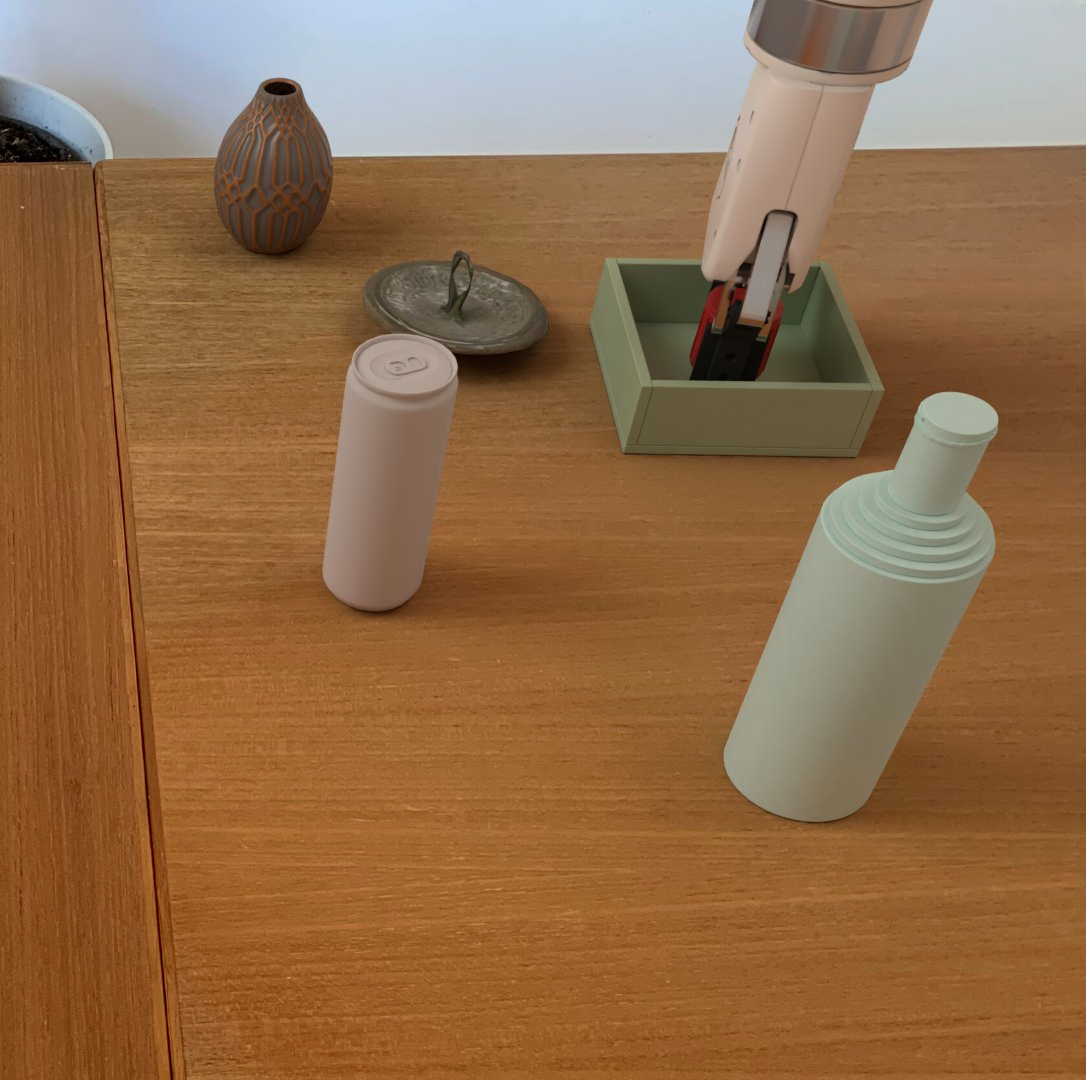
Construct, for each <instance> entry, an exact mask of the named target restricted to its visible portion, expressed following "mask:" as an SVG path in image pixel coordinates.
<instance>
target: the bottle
mask: <svg viewBox="0 0 1086 1080" xmlns="http://www.w3.org/2000/svg"><path fill="white" fill-rule="evenodd" d="M913 418H914V420H913V426H912V428H911V431H910V432H909V435H908V437H907V439H906V441H905V444H904V447H903V449H902V450H901V453H900V456H899V458H898V460H897V462H896V464H895V467H894V469H890V470H883V471H878V472H871V473H866V474H862V475H859V476H856V477H854V478H851V479H849V480H847V481H846V482H844V483H843V484H842V485H840V486H839V487H838V488H836V489H835V490H833V491H832V492H831V493H830V494H829V495H828V496H827V497H826V499H824V501H823V503H822V506H821V508H820V511H819V513H818V516H817V518H816V521H815V523H814V526H813V528H812V530H811V533H810V534H809V535H810V536H809V538H808V540H807V543H806V546H805V548H804V550H803V553H802V555H801V557H800V560H799V563H798V565H797V567H796V570H795V571H794V574H793V577H792V579H791V583H790V584H789V587H788V589H787V592H786V595H785V597H784V600H783V602H782V605H781V607H780V609H779V611H778V614H777V617H776V620H775V621H774V625H773V626H772V629H771V631H770V634H769V637H768V639H767V642H766V643H765V647H764V649H763V651H762V654H761V657H760V659H759V662H758V663H757V666H756V668H755V671H754V673H753V676H752V679H751V680H750V684H749V686H748V689H747V692H746V694H745V696H744V698H743V701H742V704H741V706H740V709H739V710H738V713H737V716H736V718H735V721H734V723H733V726H732V728H731V731H730V733H729V736H728V738H727V740H726V743H725V746H724V749H723V752H722V753H723V755H722V757H723V765H724V769H725V771H726V774H727V776H728V779H729V780H730V782H731V784H733V786H734V787H735V788H736V789H737V790H738V791H739V793H740V794H741V795H742V796H744V797H745V798H746V799H747V800H748V801H750V802H751V803H752V804H754V805H756V806H757V807H759V808H761V809H763V810H765V811H766V812H769V813H771V814H773V815H776V816H778V817H782V818H784V819H789V820H793V821H800V822H807V823H808V822H809V823H825V822H831V821H836V820H840V819H843V818H845V817H848V816H850V815H852V814H853V813H856V812H857V811H858V810H860V809H861V808H862V807H863V806H864V805H865V804H866V803H867V801H869V798H870V796H871V794H872V792H873V791H874V789H875V787H876V785H877V783H878V781H879V779H880V777H881V776H882V774H883V772H884V770H885V767H886V765H887V764H888V762H889V759H890V758H891V756H892V754H893V753H894V750H895V749H896V746H897V744H898V742H899V740H900V738H901V737H902V735H903V733H904V730H905V728H906V727H907V725H908V723H909V721H910V719H911V717H912V716H913V714H914V712H915V710H916V708H917V705H918V704H919V702H920V700H921V698H922V696H923V694H924V692H925V690H926V689H927V686H928V685H929V683H930V680H931V678H932V676H933V675H934V672H935V671H936V669H937V667H938V665H939V663H940V662H941V659H942V657H943V655H944V654H945V651H946V649H947V648H948V645H949V644H950V642H951V640H952V638H953V636H954V634H955V632H956V630H957V628H958V626H959V625H960V622H961V620H962V618H963V617H964V614H965V613H966V611H967V609H968V607H969V605H970V603H971V602H972V599H973V597H974V595H975V593H976V591H977V589H978V587H979V586H980V584H981V581H982V580H983V578H984V576H985V574H986V572H987V570H988V568H989V566H990V565H991V563H992V561H993V559H994V556H995V553H996V538H995V531H994V526H993V523H992V521H991V518H990V516H989V515H988V514H987V513H986V511H985V510H984V509H983V508H982V506H981V505H980V504H978V502H977V501H976V500H975V499H974V498H973V497H972V496H971V495H970V494H969V493H968V492H967V489H968V488H969V485H970V483H971V481H972V479H973V477H974V474H975V473H976V471H977V468H978V466H979V464H980V462H981V460H982V459H983V456H984V455H985V452H986V450H987V448H988V445H989V444H990V441H992V440H993V439H994V438H995V437H996V434H997V433H998V430H999V414H998V413H997V411H996V410H995V409H994V407H993V406H992V405H990V404H989V402H987V401H986V400H983V399H981V398H979V397H977V396H975V395H971V394H969V393H964V392H957V391H943V392H937V393H933V394H931V395H930V396H928V397H925V399H924V400H922V401H921V402H920V404H919V406H918V408H917V411H916V413H915V415H914V417H913Z"/></svg>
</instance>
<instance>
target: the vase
mask: <svg viewBox="0 0 1086 1080" xmlns="http://www.w3.org/2000/svg"><path fill="white" fill-rule="evenodd" d="M213 174H214V175H213V176H214V177H213V189H214V193H213V194H214V199H215V205H216V209H217V213H218V215H219V219H220V220H221V223H222V225H223V227H224V228H225V229H226V231H227V233H229V235H230V236H231V237H232V238H233V239H234V240H235V241H236V242H237V243H238V244H239V245H240V246H241V247H243V248H245V249H247V250H250V251H252V252H256V253H261V254H281V253H285V252H288V251H291V250H293V249H295V248H297V247H298V246H299V245H301V244H302V243H304V241H306V240H307V239H309V238H310V237H311V235H312V234H313V233H314V232H315V231H316V230H317V229H318V227H319V225H320V223H321V222H322V220H323V218H324V216H325V213H326V212H327V208H328V205H329V202H330V198H331V195H332V188H333V181H334V180H333V179H334V163H333V155H332V149H331V146H330V141H329V138H328V135H327V132H326V130H325V129H324V127H323V126H322V124H321V122H320V120H319V119H318V118H317V116H316V114H315V113H314V111H313V110H312V109H311V107H310V106H309V103H308V102H307V100H306V98H305V95H304V90H303V88H302V85H301V84H300V83H299V82H297V81H296V80H294V79H291V78H286V77H273V78H268V79H265V80H264V81H262V82H261V83H260V84H259V85H258V87H257V90H256V92H255V94H254V95H253V98H252V99H251V101H250V102H249V103H248V104H247V105H246V106H245V108H244V109H243V110H241V112H240V113H239V114H238V116H237V117H236V118H235V119H234V120H233V121H232V123H231V124H230V126H229V127H228V128H227V130H226V132H225V133H224V135H223V138H222V141H221V143H220V146H219V149H218V152H217V156H216V159H215V164H214V173H213Z"/></svg>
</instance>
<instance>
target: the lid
mask: <svg viewBox="0 0 1086 1080" xmlns="http://www.w3.org/2000/svg"><path fill="white" fill-rule="evenodd" d="M462 260H463V261H462ZM361 293H362V295H361V300H362V302H363V305H364V307H365V310H366V311H367V313H369V316H371V318H373V320H375V322H376V323H377V324H379V326H381V327H382V328H384V329H385V330H387V331H388V332H390V334H411V335H418V336H422V337H425V338H429V339H432V340H434V341H436V342H438V343H440V344H442V345H443V346H445V347H446V348H447V349H448V350H450V351H451V352H452V354H453V353H454V354H459V355H460V354H461V355H480V356H482V355H483V356H484V355H499V354H507V353H511V352H517V351H522V350H526V349H528V348H530V347H532V346H534V345H536V344H538V343H539V342H541V341H542V340H543V339H544V338H545V337H546V335H547V333H548V331H549V330H550V328H551V327H550V326H551V325H550V318H549V314H548V310H547V307H545V305H544V303H543V302H542V300H541V299H540V297H538V295H537V294H536V293H535V292H534V290H533V289H531V288H530V287H529V286H528V285H525V284H524V283H523V282H521V281H519V280H517V279H516V278H514V277H512V276H509V275H506V274H503V273H501V272H499V271H496V270H494V269H491V268H489V267H485V266H483V265H480V264H477V263H472V261H471V257H470V255H469V254H468V253H465V252H464V251H463V250H461V249H457V251H455V253H454V254H453V257H452V260H448V259H447V260H438V259H427V260H421V259H420V260H409V261H405V262H399V263H394V264H392V265H389V266H386V267H384V268H383V269H379V270H377V271H375V272H374V273H373V274H372V275H370V276H369V278H368V279H366V281H365V282H364V285H363V286H362V289H361Z"/></svg>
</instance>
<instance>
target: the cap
mask: <svg viewBox="0 0 1086 1080" xmlns="http://www.w3.org/2000/svg"><path fill="white" fill-rule="evenodd" d="M723 287H724V285H721V286H719V287H717V288H715V289H713V290H712V291H711V292H710V294H709V296H708V299H707V301H706V303H705V306H704V309H703V313H702V316H701V319H700V322H699V326H698V329H697V332H696V335H695V338H694V342H693V345H692V348H691V352H690V356H689V357H690V364H691V366H692V367H693V366H694V363H695V359H696V356H697V353H698V350H699V347H700V344H701V340H702V337H703V334H704V331H705V328H706V324H707V322H709V323H713V321H714V317H715V314H716V311H717V307H718V304H719V301H720V297H721V294H722V291H723ZM744 292H745V289H743V288H737V287H736V290H735V293H734V296H733V300H732V303H731V305H732V304H733V302H734V301H735V299H738V300H741V299H742V298H743V295H744ZM783 313H784V305H783V302H782V301H781V299H780V300H779V303H778V306H777V309H776V313H775V316H774V319H773V322H772V325H771V328H770V331H769V332H771V333H770V339H769V342H768V345H767V348H766V351H765V354H764V356H763V359H762V362H761V365H760V368H759V371H758V374H757V376H756V379H757V378H758V377H759V376H760V375H761V374H762V372H764V370H765V367H766V364H767V361H768V358H769V355H770V353H771V350H772V347H773V344H774V341H775V338H776V336H777V333H778V330H779V327H780V321H781V319H782V316H783ZM756 379H755V380H756Z"/></svg>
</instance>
